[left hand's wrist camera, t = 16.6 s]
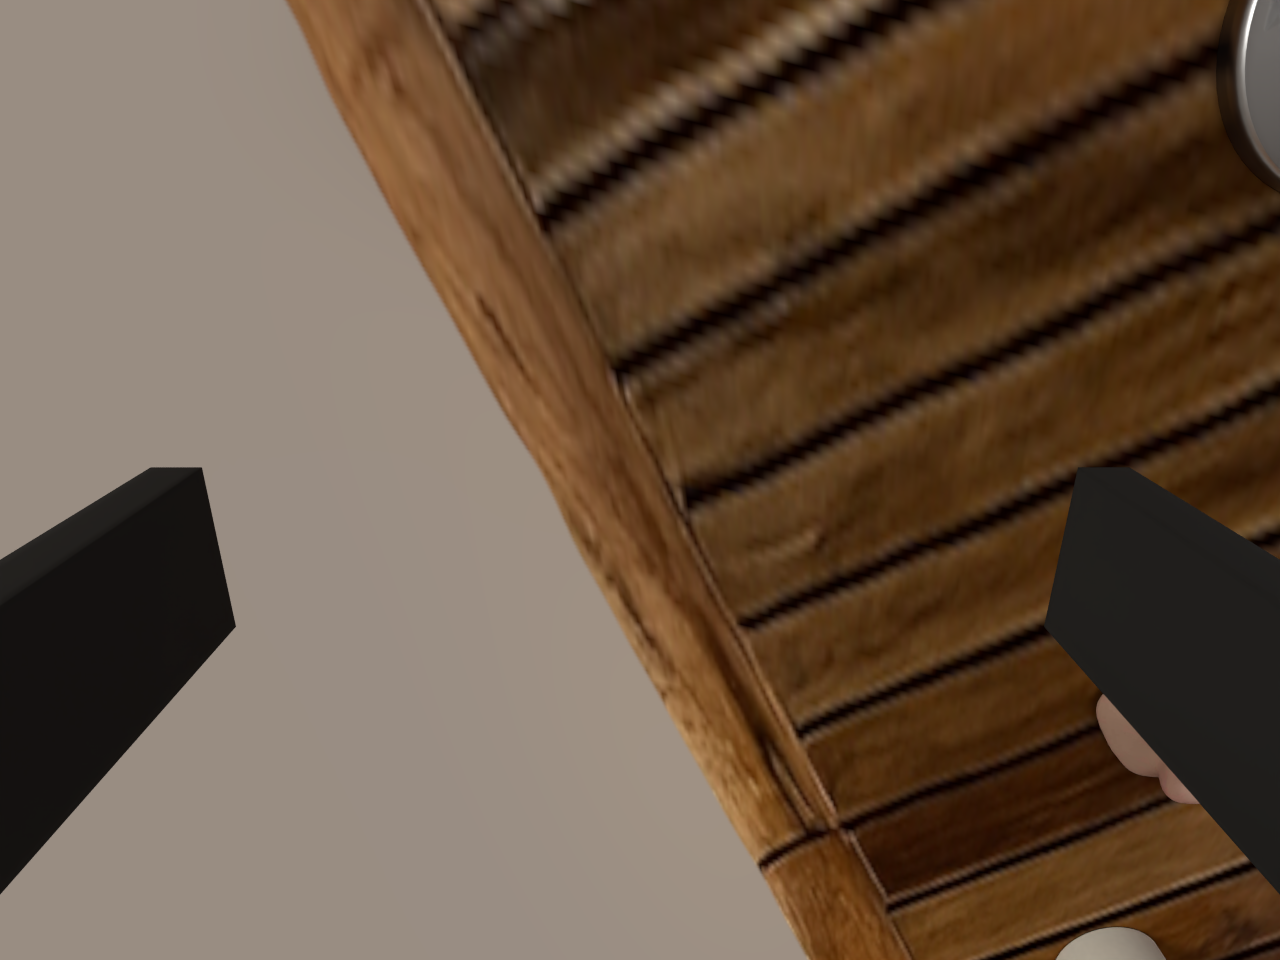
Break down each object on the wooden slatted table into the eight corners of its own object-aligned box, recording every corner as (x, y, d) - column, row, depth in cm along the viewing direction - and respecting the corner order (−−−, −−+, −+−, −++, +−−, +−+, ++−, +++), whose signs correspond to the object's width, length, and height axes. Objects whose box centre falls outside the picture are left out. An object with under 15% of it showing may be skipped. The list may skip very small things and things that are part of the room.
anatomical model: (1096, 775, 47) (1247, 631, 43) (1063, 730, 50) (1199, 594, 47) (1255, 866, 49) (1410, 738, 46) (1212, 817, 53) (1352, 695, 49)
